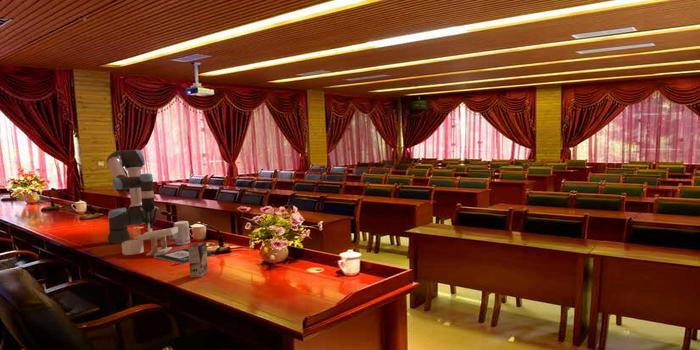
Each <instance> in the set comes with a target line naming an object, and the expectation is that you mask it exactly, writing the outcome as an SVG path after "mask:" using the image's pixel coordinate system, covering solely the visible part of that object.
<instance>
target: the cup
mask: <svg viewBox="0 0 700 350" xmlns="http://www.w3.org/2000/svg"><path fill="white" fill-rule="evenodd" d="M121 251H122V252H121V253H122V255H123V256H133V255H138V254H141V253H144V251H145V250H144V240H140V241H138V239H131V240H129V241H125V242H122V243H121Z"/></svg>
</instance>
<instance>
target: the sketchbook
mask: <svg viewBox="0 0 700 350" xmlns="http://www.w3.org/2000/svg"><path fill="white" fill-rule="evenodd" d="M213 256H215V254H214V253H209V252H207V258H209V257H213ZM153 258H154V259H157V258H158V259H159V260H164V261H166V262H172V263H176V264H177V263H178V264H181V265H185V264H187V263H188V264H190V263H189V248H186V247H185V248H184V247H183V248H177V249H174V250H169V251H167V252H165V253H161V254H159V255H153Z"/></svg>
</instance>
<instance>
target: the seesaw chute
mask: <svg viewBox="0 0 700 350" xmlns="http://www.w3.org/2000/svg"><path fill="white" fill-rule="evenodd" d="M177 232H178V227H174V226H173V227H169V228H164V229H158V230H152V231H151V232H148V231H146V232H143V234H140V235H136V238H137V239H136V240H138V241H140V240H143V241H145V240H151V238H156V237H157V241H158V240H161V238H162V237H163V236H166V237H168V241H171V240H175V238H177V237H178V235H177Z"/></svg>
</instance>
